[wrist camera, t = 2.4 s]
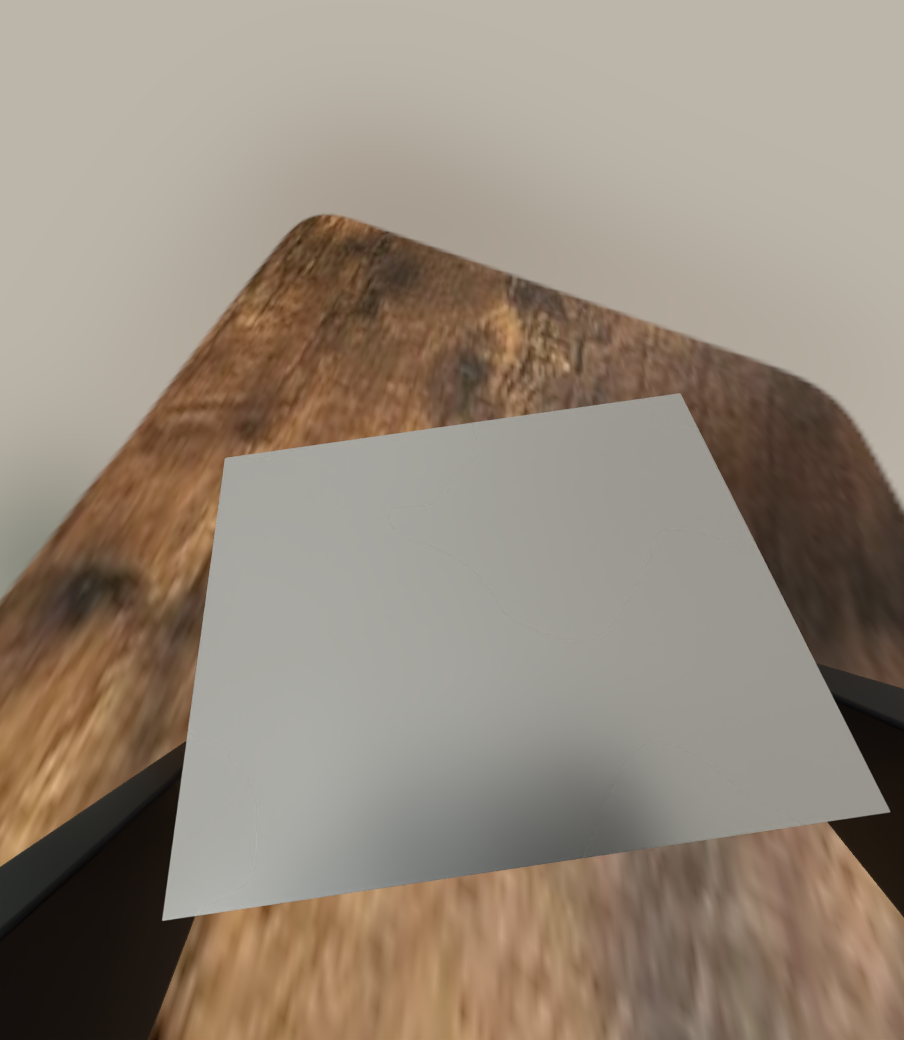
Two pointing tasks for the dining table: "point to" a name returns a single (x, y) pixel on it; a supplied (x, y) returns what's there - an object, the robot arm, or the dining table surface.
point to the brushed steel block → (491, 663)
